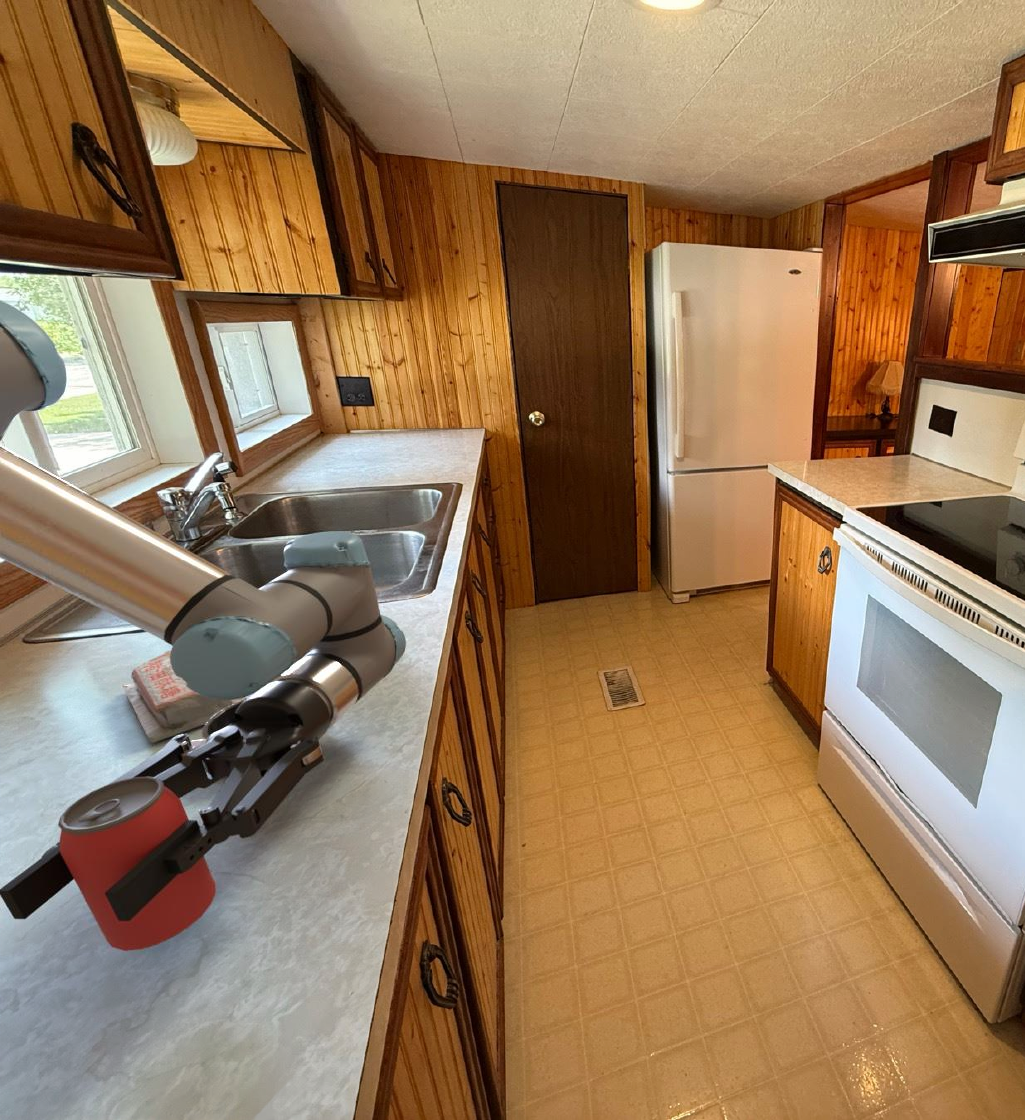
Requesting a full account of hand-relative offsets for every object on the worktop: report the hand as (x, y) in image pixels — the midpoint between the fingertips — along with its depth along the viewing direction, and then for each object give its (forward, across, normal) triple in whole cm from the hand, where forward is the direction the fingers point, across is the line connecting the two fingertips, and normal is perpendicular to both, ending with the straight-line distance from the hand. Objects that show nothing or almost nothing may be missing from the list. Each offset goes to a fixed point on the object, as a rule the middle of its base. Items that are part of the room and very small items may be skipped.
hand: (64, 905), depth 42 cm
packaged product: (-39, +29, -11) cm, 50 cm away
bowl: (-30, +11, -11) cm, 34 cm away
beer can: (-5, 0, -8) cm, 9 cm away
